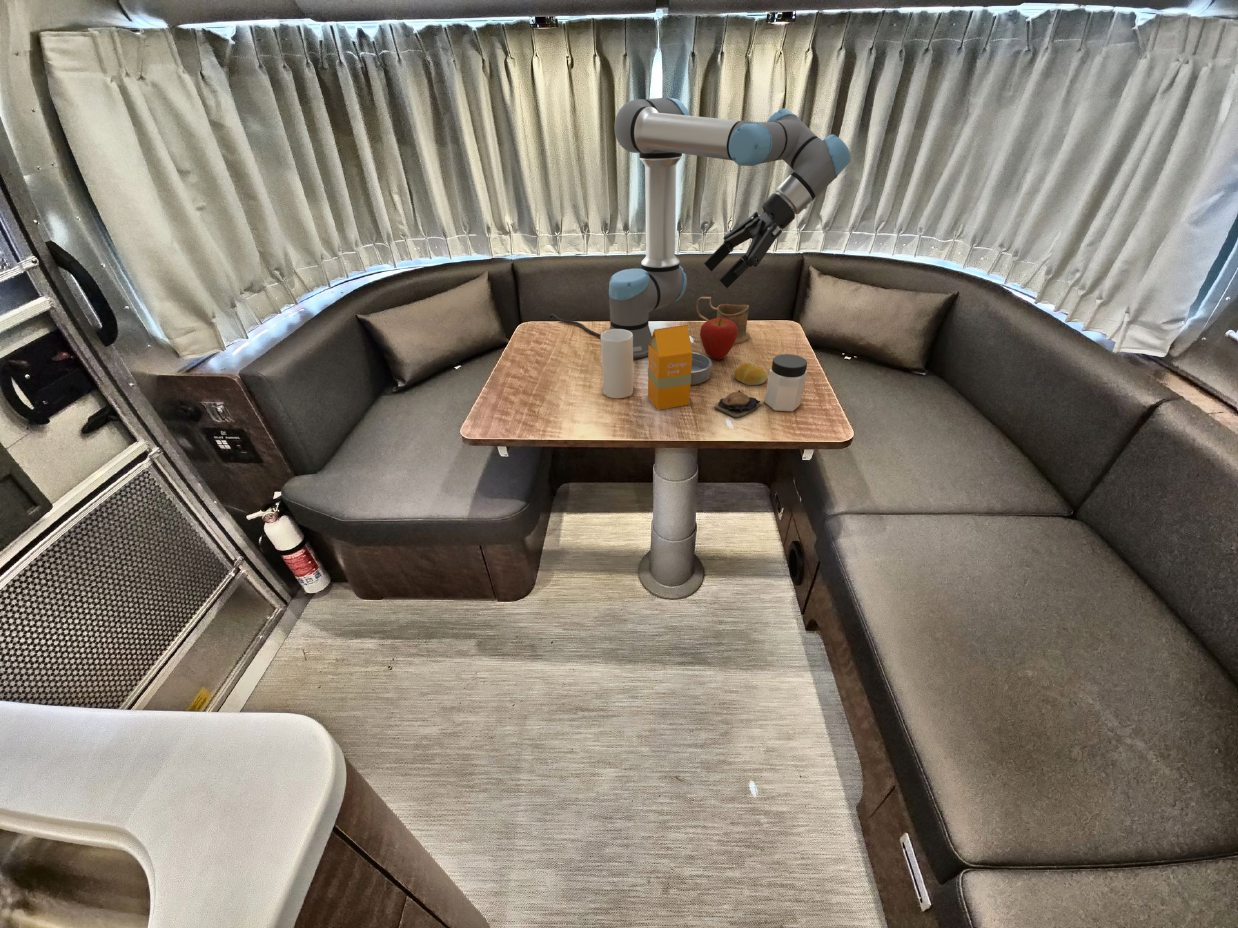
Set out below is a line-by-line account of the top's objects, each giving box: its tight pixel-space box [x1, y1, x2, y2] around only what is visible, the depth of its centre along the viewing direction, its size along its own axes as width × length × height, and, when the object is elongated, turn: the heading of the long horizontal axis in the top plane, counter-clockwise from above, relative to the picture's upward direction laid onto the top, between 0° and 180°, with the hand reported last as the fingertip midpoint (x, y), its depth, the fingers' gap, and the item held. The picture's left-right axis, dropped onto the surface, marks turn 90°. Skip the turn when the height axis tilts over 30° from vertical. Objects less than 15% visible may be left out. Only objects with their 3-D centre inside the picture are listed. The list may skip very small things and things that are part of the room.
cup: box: [600, 329, 634, 399], centre depth 140 cm, size 8×8×16 cm
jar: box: [764, 353, 808, 412], centre depth 133 cm, size 9×8×12 cm
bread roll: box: [732, 362, 768, 386], centre depth 147 cm, size 8×9×4 cm
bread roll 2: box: [714, 390, 762, 419], centre depth 135 cm, size 11×8×4 cm
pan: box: [690, 351, 713, 386], centre depth 150 cm, size 14×14×4 cm
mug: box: [695, 296, 750, 345], centre depth 171 cm, size 12×18×12 cm, turn 67°
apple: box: [699, 317, 738, 361], centre depth 157 cm, size 11×11×12 cm
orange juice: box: [647, 324, 693, 411], centre depth 134 cm, size 8×9×20 cm
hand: (714, 275), depth 127 cm, fingers open, 13 cm apart
